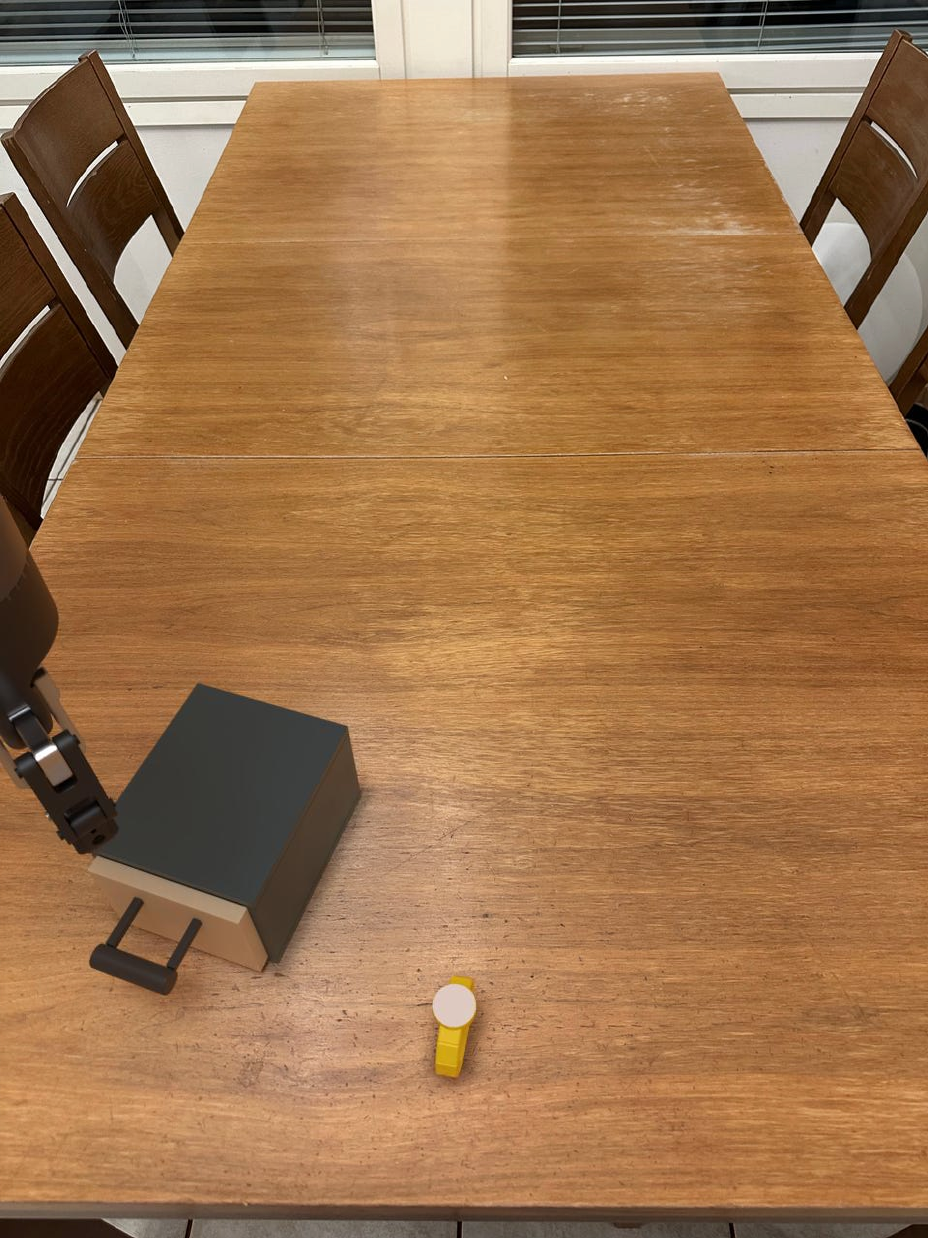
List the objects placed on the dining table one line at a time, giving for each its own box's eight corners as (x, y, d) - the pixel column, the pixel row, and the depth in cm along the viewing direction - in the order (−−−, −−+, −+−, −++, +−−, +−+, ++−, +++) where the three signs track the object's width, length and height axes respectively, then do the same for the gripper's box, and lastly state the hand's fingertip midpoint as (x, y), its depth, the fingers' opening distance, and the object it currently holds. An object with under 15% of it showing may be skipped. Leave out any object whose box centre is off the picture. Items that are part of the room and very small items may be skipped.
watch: (468, 1091, 61) (466, 1062, 57) (426, 1083, 62) (421, 1053, 57) (484, 999, 65) (484, 965, 61) (445, 992, 65) (442, 957, 61)
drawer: (225, 1043, 63) (197, 999, 57) (80, 986, 65) (40, 939, 60) (341, 811, 74) (328, 755, 68) (214, 771, 77) (191, 714, 71)
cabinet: (278, 964, 67) (252, 903, 60) (126, 909, 70) (85, 845, 63) (361, 795, 76) (348, 725, 69) (224, 753, 79) (197, 682, 72)
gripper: (-221, 522, 40) (-57, 741, 52) (-108, 728, 33) (52, 928, 45) (-47, 449, 43) (70, 671, 55) (92, 621, 36) (191, 834, 48)
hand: (62, 786), depth 50 cm, fingers open, 8 cm apart
